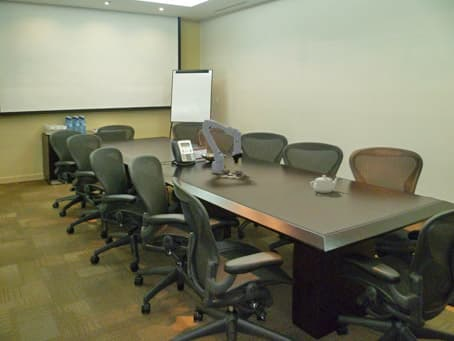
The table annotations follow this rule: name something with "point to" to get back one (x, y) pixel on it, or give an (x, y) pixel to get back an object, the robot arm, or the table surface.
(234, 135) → the robot arm
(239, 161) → the coupler
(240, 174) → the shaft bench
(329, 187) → the teapot
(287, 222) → the table surface
